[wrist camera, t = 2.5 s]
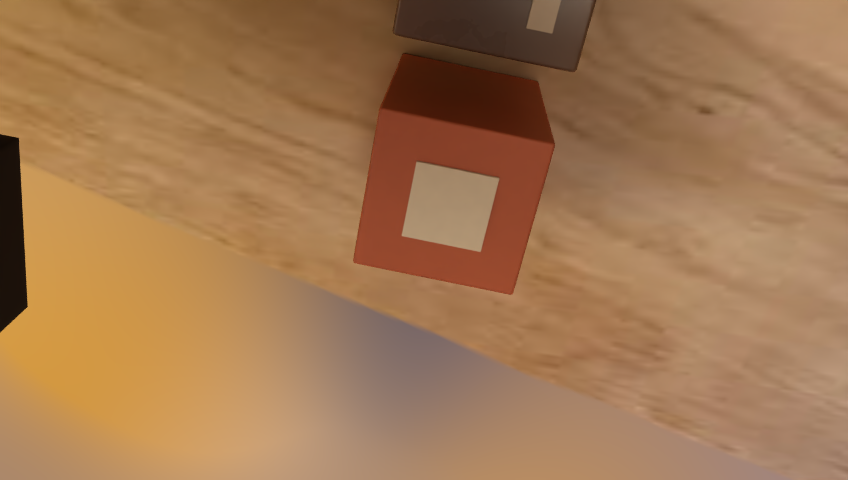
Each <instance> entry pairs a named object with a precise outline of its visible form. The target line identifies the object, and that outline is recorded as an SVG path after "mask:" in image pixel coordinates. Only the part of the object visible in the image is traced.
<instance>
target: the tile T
mask: <svg viewBox="0 0 848 480" xmlns="http://www.w3.org/2000/svg"><path fill="white" fill-rule="evenodd" d="M595 3H596V0H398V4H397V10H396V16H395V21H394V27H393V34H395V35H398V36H402V37H407V38H412V39H417V40H421V41H426V42H431V43H436V44H440V45H445V46H450V47H455V48H459V49H464V50H469V51H474V52H478V53H483V54H488V55H493V56H497V57H502V58H507V59H512V60H517V61H521V62H526V63H531V64H536V65H540V66H545V67H550V68H555V69H559V70H564V71H569V72H575V71H576V70H577V67H578V63H579V60H580V56H581V53H582V49H583V45H584V42H585V38H586V35H587V31H588V28H589V24H590V21H591V17H592V14H593V10H594V7H595Z"/></svg>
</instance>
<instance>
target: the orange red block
mask: <svg viewBox="0 0 848 480" xmlns="http://www.w3.org/2000/svg"><path fill="white" fill-rule="evenodd" d="M554 148H555V143H554V139H553V135H552V132H551V128H550V124H549V121H548V117H547V113H546V110H545V106H544V102H543V98H542V95H541V91H540V87H539V84H538V82H537V81H533V80H528V79H524V78H519V77H514V76H509V75H505V74H500V73H495V72H490V71H486V70H481V69H476V68H471V67H467V66H462V65H457V64H452V63H447V62H443V61H438V60H433V59H428V58H424V57H419V56H414V55H409V54H402V56H401V59H400V61H399V63H398V66H397V68H396V71H395V73H394V75H393V78H392V80H391V82H390V85H389V87H388V90H387V92H386V94H385V97H384V99H383V102H382V104H381V106H380V109H379V114H378V120H377V125H376V131H375V137H374V143H373V149H372V154H371V160H370V166H369V172H368V178H367V183H366V189H365V195H364V201H363V206H362V212H361V218H360V224H359V230H358V235H357V241H356V247H355V253H354V259H353V261H354V263H357V264H362V265H367V266H372V267H377V268H381V269H386V270H391V271H396V272H401V273H406V274H411V275H416V276H421V277H426V278H431V279H436V280H441V281H446V282H451V283H456V284H460V285H465V286H470V287H475V288H480V289H485V290H490V291H495V292H500V293H505V294H510V295H511V294H512V293H513V292H514V288H515V285H516V281H517V278H518V274H519V271H520V267H521V264H522V260H523V256H524V253H525V249H526V246H527V242H528V239H529V235H530V232H531V228H532V225H533V221H534V218H535V214H536V211H537V207H538V204H539V200H540V197H541V193H542V190H543V186H544V183H545V179H546V176H547V172H548V169H549V165H550V162H551V158H552V155H553V151H554Z"/></svg>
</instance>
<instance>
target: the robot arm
mask: <svg viewBox="0 0 848 480" xmlns="http://www.w3.org/2000/svg"><path fill="white" fill-rule="evenodd" d="M27 307H28V306H27V288H26V268H25V249H24V230H23V212H22V193H21V173H20V154H19V138H16V137H11V136H6V135H1V134H0V332H1V331H2V330H3V329H4V328H5V327H6V326H7V325H9V324H10V323H11V322H12V321H13V320H14V319H15V318H16V317H17V316H18V315H19V314H20V313H21V312H22V311H24V309H26V308H27Z"/></svg>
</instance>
